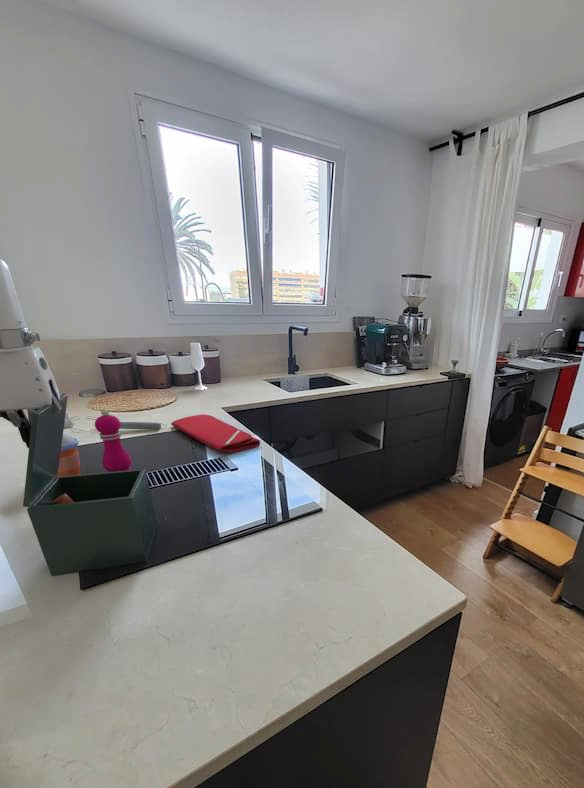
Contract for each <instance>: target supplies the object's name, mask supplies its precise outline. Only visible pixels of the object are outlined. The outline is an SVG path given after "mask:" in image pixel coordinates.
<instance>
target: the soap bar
mask: <svg viewBox="0 0 584 788" xmlns="http://www.w3.org/2000/svg"><path fill="white" fill-rule="evenodd" d="M69 419H70V420H69ZM70 421H71V422H70ZM68 422H70V423H69V424H71V423H72V424H73V425H70V426H71V427H72V428H73V427H74V423H73V419H72V418H71V417H70V413H68V412H66V415H65V422H64V428H68V427H69V428H71V427H70V426H68ZM67 426H68V427H67Z"/></svg>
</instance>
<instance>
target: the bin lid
mask: <svg viewBox="0 0 584 788" xmlns="http://www.w3.org/2000/svg"><path fill="white" fill-rule="evenodd" d="M68 399H69V394H68V393H64V392H63V393H61V394H60V399H59V400H57V401H58V402H59V404H60V406H61V407H62V409H61V410H60V411H59V412H57V413H53V414H52V411H53V404H51V405H44V406H43V407H41V408H40V409H38V410H36V411H35V412H33V414H32V424H31V433H30V443H29V448H28V453H27V463H26V471H25V473H26V475H25V482H24V483H25V484H24V492H23V502H22V507H24V508H25V507H26V508H28V507H29V506H30V505H31V504H32V503H33V502H34V501H35V500H36V498H37V497H38V496H39V495H40V494H41V493H42V492H43V491H44V490H45V489H46V487H47V486H48V485H49V484H50V483H51V482H52V481H53V480H54V479H55V477H56V476H57V475H58V469H59V461H60V453H61V445H62V438H63V432H64V422H65V415H66V413H67V407H68V406H67V405H68Z"/></svg>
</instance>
